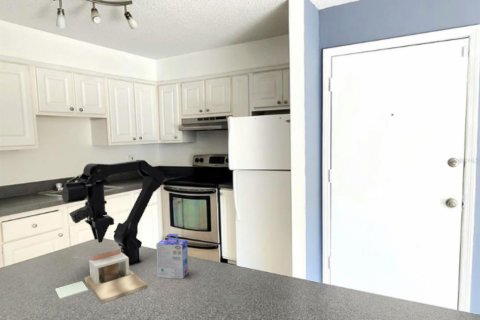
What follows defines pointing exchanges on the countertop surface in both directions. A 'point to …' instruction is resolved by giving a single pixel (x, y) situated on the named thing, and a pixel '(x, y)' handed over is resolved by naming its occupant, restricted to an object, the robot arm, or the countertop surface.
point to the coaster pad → (71, 290)
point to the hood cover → (108, 263)
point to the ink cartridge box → (172, 258)
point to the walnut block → (109, 272)
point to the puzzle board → (116, 286)
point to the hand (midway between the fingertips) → (98, 240)
